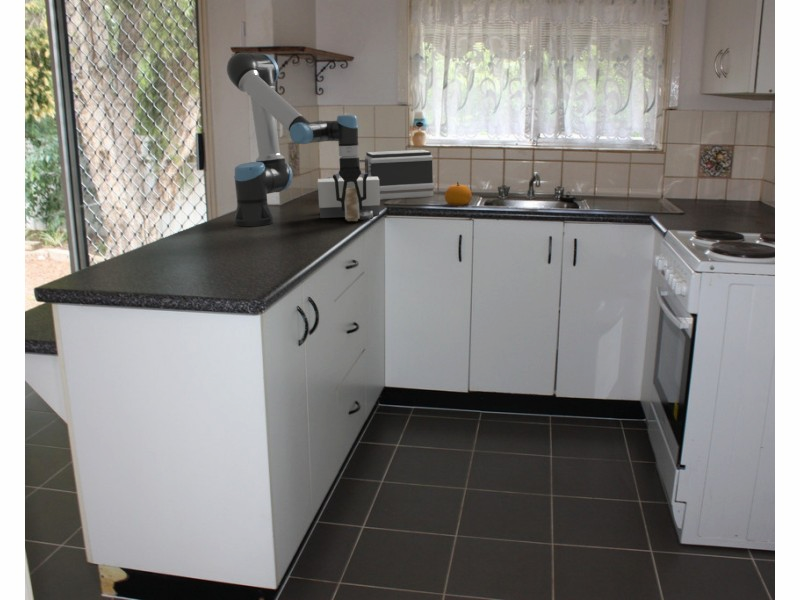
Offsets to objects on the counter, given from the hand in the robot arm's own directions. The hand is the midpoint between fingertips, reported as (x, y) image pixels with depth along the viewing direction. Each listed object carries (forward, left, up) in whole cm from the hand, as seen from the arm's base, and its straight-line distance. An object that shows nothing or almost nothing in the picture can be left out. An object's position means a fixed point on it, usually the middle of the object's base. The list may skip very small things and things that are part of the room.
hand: (352, 218), depth 289 cm
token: (+5, +11, -2) cm, 12 cm away
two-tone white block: (-1, +13, -2) cm, 13 cm away
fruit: (+47, +37, -2) cm, 60 cm away
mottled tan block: (0, +6, -1) cm, 6 cm away
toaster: (+23, +74, -2) cm, 77 cm away
